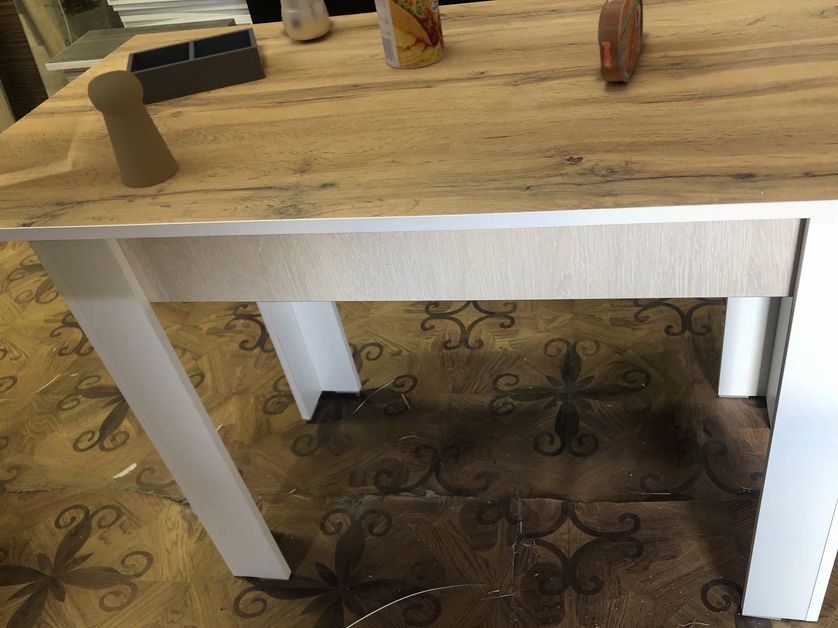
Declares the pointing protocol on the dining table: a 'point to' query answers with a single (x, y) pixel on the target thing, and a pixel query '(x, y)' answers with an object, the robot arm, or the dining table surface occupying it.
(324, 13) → the plastic bottle
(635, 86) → the dining table surface
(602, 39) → the tin
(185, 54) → the divided storage box
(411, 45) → the canned food
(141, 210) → the dining table surface
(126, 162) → the cork
